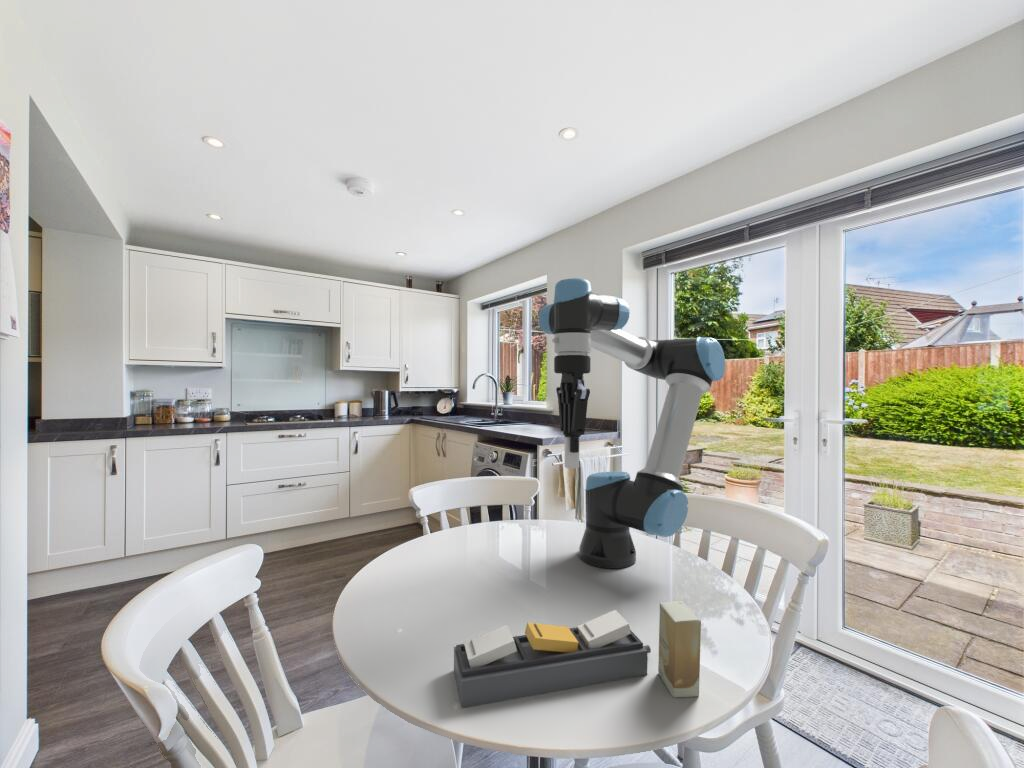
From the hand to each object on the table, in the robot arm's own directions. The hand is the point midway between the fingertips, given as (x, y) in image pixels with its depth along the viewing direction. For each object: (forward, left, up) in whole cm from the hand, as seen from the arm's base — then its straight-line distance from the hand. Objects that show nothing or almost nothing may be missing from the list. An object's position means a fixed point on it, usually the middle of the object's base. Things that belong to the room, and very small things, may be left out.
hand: (571, 467), depth 96 cm
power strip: (+9, +18, -30) cm, 37 cm away
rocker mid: (+11, +18, -25) cm, 33 cm away
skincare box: (-8, +26, -31) cm, 41 cm away
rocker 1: (+21, +18, -25) cm, 38 cm away
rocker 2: (+1, +18, -25) cm, 31 cm away
